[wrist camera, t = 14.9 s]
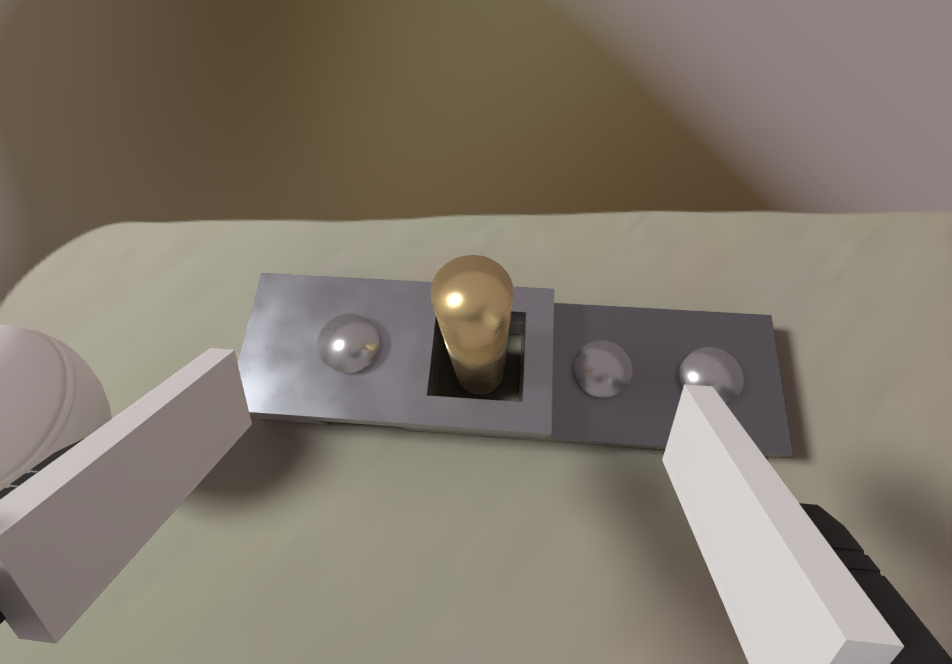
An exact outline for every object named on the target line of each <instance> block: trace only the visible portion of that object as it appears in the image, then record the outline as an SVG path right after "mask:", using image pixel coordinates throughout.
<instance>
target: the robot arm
mask: <svg viewBox="0 0 952 664" xmlns="http://www.w3.org/2000/svg"><path fill="white" fill-rule="evenodd" d="M251 425H252V422H251V417H250V413H249V409H248V405H247V401H246V397H245V392H244V388H243V384H242V380H241V376H240V372H239V368H238V363H237V359H236V355H235V351H234V350H226V349H213V348H210V349H208V350H207V351H205V352H204V353H203V354H201V355H200V356H199V357H197V358H196V359H194V360H193V361H192V362H190V363H189V364H187V365H186V366H185V367H183V368H182V369H180V370H179V371H178V372H176V373H175V374H174V375H172V376H171V377H169V378H168V379H167V380H165V381H164V382H162V383H161V384H160V385H158V386H157V387H156V388H154V389H153V390H151V391H150V392H149V393H147V394H146V395H144V396H143V397H142V398H140V399H139V400H138V401H136V402H135V403H133V404H132V405H131V406H129V407H128V408H126V409H125V410H124V411H122V412H121V413H120V414H118V415H117V416H115V417H114V418H113V419H111V420H110V421H108V422H107V423H106V424H104V425H103V426H102V427H100V428H99V429H97V430H96V431H95V432H93V433H92V434H90V435H89V436H88V437H86V438H83V439H81V440H79V441H77V442H75V443H73V444H71V445H69V446H67V447H65V448H63V449H61V450H59V451H56V452H55V453H53V454H52V455H50V456H49V457H47V458H46V459H45V460H43V461H42V462H40V463H39V464H38V465H36V466H35V467H33V468H32V469H31V471H30V473H25V474H23V475H22V476H21V477H19V478H18V479H16V480H15V481H13V482H12V483H11V484H10V487H9V488H4V489H2V490H1V491H0V624H1V623H2V622H3V621H4V620H6V621H7V623H8V624H9V626H10V627H11V628H12V630H13V631H14V632H15V634H16V635H17V637H18V638H19V639H26V640H34V641H42V642H50V643H57V642H58V641H59V640H60V639H61V638H62V636H63V635H64V634H65V633H66V632H67V631H68V630H69V629H70V628H71V626H72V625H73V624H74V623H75V622H76V621H77V620H78V619H79V617H80V616H81V615H82V614H83V613H84V612H85V611H86V610H87V608H88V607H89V606H90V605H91V604H92V603H93V602H94V601H95V600H96V598H97V597H98V596H99V595H100V594H101V593H102V592H103V591H104V589H105V588H106V587H107V586H108V585H109V584H110V583H111V582H112V580H113V579H114V578H115V577H116V576H117V575H118V574H119V573H120V572H121V570H122V569H123V568H124V567H125V566H126V565H127V564H128V563H129V561H130V560H131V559H132V558H133V557H134V556H135V555H136V554H137V552H138V551H139V550H140V549H141V548H142V547H143V546H144V545H145V544H146V542H147V541H148V540H149V539H150V538H151V537H152V536H153V535H154V533H155V532H156V531H157V530H158V529H159V528H160V527H161V526H162V525H163V523H164V522H165V521H166V520H167V519H168V518H169V517H170V516H171V514H172V513H173V512H174V511H175V510H176V509H177V508H178V507H179V505H180V504H181V503H182V502H183V501H184V500H185V499H186V498H187V497H188V495H189V494H190V493H191V492H192V491H193V490H194V489H195V488H196V486H197V485H198V484H199V483H200V482H201V481H202V480H203V479H204V477H205V476H206V475H207V474H208V473H209V472H210V471H211V470H212V469H213V467H214V466H215V465H216V464H217V463H218V462H219V461H220V460H221V458H222V457H223V456H224V455H225V454H226V453H227V452H228V451H229V449H230V448H231V447H232V446H233V445H234V444H235V443H236V442H237V441H238V439H239V438H240V437H241V436H242V435H243V434H244V433H245V432H246V430H247V429H248V428H249V427H250V426H251ZM662 461H663V463H664V465H665V468H666V470H667V473H668V475H669V477H670V480H671V482H672V484H673V487H674V489H675V491H676V494H677V496H678V498H679V501H680V503H681V505H682V508H683V510H684V512H685V515H686V517H687V519H688V522H689V524H690V527H691V529H692V531H693V534H694V536H695V538H696V541H697V543H698V545H699V548H700V550H701V552H702V555H703V557H704V559H705V562H706V564H707V566H708V569H709V571H710V574H711V576H712V578H713V581H714V583H715V585H716V588H717V590H718V592H719V595H720V597H721V599H722V602H723V604H724V606H725V609H726V611H727V613H728V616H729V618H730V620H731V623H732V625H733V628H734V630H735V632H736V635H737V637H738V639H739V642H740V644H741V646H742V649H743V651H744V653H745V656H746V658H747V660H748V663H749V664H952V659H951V657H950V656H949V655H948V654H947V652H946V651H945V650H944V649H943V648H942V646H941V645H940V644H939V643H938V641H937V640H936V639H935V638H934V636H933V635H932V634H931V633H930V631H929V630H928V629H927V628H926V627H925V625H924V624H923V623H922V622H921V620H920V619H919V618H918V617H917V615H916V614H915V613H914V612H913V610H912V609H911V608H910V607H909V606H908V604H907V603H906V602H905V601H904V599H903V598H902V597H901V596H900V594H899V593H898V592H897V591H896V589H895V588H894V587H893V586H892V584H891V583H890V582H889V581H888V580H887V578H886V577H885V576H882V575H881V574H880V570H879V568H878V567H877V566H876V565H875V563H874V562H873V561H872V560H871V559H870V557H869V556H868V555H865V554H864V552H863V551H864V550H863V549H862V547H861V546H860V545H859V544H858V542H857V541H856V540H855V539H854V538H853V536H852V535H851V534H850V533H849V531H848V530H847V529H846V528H845V526H843V525H842V524H841V523H840V522H838V521H837V520H836V519H835V518H833V517H832V516H831V515H830V514H828V513H827V512H826V511H825V510H823V509H822V508H821V507H820V506H818V505H813V504H802V503H798V502H797V500H796V499H795V498H794V496H793V495H792V493H791V492H790V491H789V489H788V488H787V487H786V485H785V484H784V483H783V481H782V480H781V479H780V477H779V476H778V474H777V473H776V472H775V470H774V469H773V468H772V466H771V465H770V464H769V462H768V461H767V460H766V458H765V457H764V455H763V454H762V453H761V451H760V450H759V449H758V447H757V446H756V445H755V443H754V442H753V441H752V439H751V438H750V437H749V435H748V434H747V432H746V431H745V430H744V428H743V427H742V426H741V424H740V423H739V422H738V420H737V419H736V418H735V416H734V415H733V413H732V412H731V411H730V409H729V408H728V407H727V405H726V404H725V403H724V401H723V400H722V399H721V397H720V396H719V395H718V393H717V392H716V390H715V389H714V388H713V387H712V386H699V385H686V384H684V387H683V391H682V394H681V398H680V401H679V404H678V408H677V411H676V415H675V418H674V422H673V425H672V429H671V432H670V435H669V439H668V442H667V446H666V449H665V453H664V456H663V460H662Z"/></svg>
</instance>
